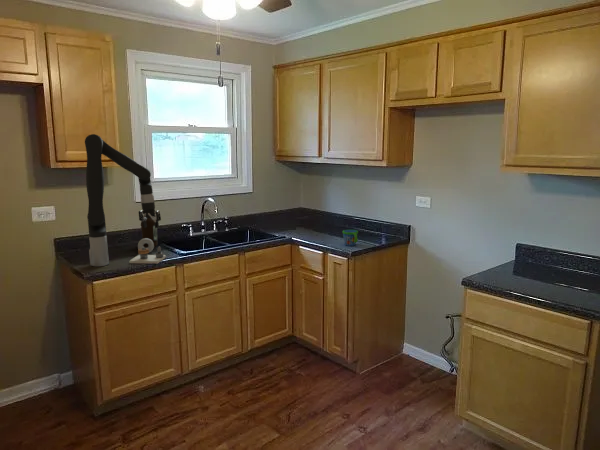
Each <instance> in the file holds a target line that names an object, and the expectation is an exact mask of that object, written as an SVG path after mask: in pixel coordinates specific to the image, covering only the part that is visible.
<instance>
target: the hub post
mask: <svg viewBox="0 0 600 450" xmlns="http://www.w3.org/2000/svg"><path fill="white" fill-rule="evenodd" d="M155 255H156V258H162V257H163V255H164V252H162V247H161V246H158V247H157V252H155Z"/></svg>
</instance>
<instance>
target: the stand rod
mask: <svg viewBox="0 0 600 450" xmlns="http://www.w3.org/2000/svg"><path fill="white" fill-rule="evenodd" d="M145 248H146V247H144V246H143V248H142V250H145ZM139 255H140V259H147V258H148V255H149V253H146V254H139Z"/></svg>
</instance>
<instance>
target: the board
mask: <svg viewBox="0 0 600 450" xmlns="http://www.w3.org/2000/svg"><path fill="white" fill-rule="evenodd" d="M166 258H167V256H166V254H163V257H162V258H156V254H148V258H147V259H140V254H137V255H136V256H135V257H133V258H131V259H130V260H129V264H156V265H157V264H159V263H160V262H162V261H163V260H164V259H166Z"/></svg>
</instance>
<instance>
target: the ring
mask: <svg viewBox="0 0 600 450" xmlns="http://www.w3.org/2000/svg"><path fill="white" fill-rule="evenodd" d="M137 249H138V248H137ZM137 252H138V254H137V255H140V254H146V253H148V254H149V253H150V252H149V249H148V247H145V250H142V248H141V249H138V250H137Z"/></svg>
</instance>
